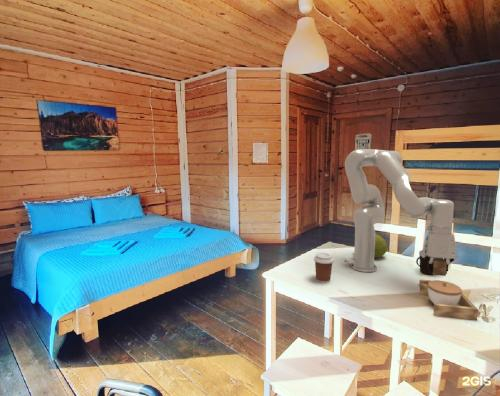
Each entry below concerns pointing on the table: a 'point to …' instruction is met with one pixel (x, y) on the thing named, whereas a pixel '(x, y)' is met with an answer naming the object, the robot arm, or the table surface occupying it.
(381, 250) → the fruit
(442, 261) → the walnut block
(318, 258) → the coffee cup
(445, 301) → the lidded jar
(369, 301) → the table surface
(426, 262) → the coffee mug
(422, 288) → the holder
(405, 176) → the robot arm
